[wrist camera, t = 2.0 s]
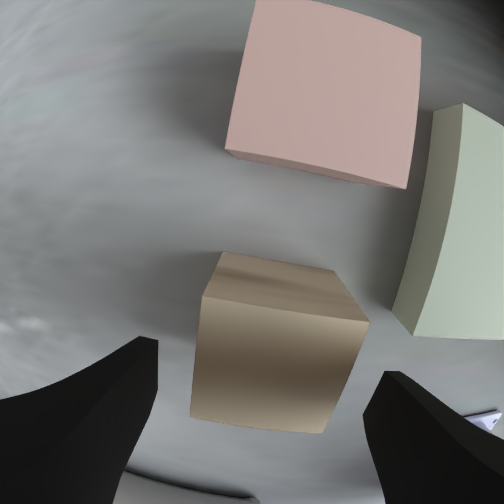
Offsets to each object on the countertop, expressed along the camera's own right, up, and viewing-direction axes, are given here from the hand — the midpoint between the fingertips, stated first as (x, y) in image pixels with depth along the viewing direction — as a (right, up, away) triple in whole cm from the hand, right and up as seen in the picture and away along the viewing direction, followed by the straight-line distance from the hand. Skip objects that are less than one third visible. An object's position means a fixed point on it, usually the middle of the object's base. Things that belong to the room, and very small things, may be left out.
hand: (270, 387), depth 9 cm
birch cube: (0, +1, +5) cm, 6 cm away
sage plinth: (+12, +5, +4) cm, 14 cm away
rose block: (+2, +10, +3) cm, 10 cm away
